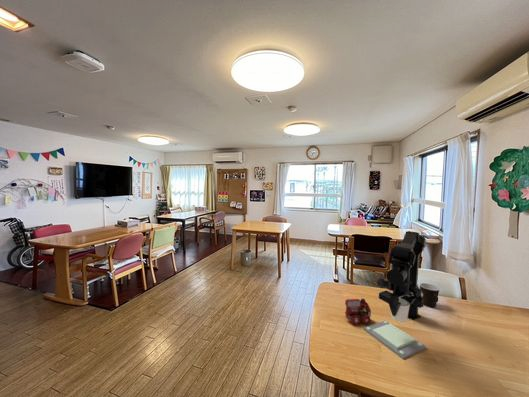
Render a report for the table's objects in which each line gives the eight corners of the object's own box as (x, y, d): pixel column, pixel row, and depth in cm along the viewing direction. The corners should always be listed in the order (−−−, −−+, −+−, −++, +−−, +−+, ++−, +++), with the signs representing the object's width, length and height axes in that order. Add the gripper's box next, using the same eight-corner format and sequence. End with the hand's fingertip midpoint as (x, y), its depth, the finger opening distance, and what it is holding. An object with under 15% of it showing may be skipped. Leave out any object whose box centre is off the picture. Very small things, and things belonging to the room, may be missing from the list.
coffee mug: (418, 298, 125) (419, 281, 125) (437, 303, 120) (438, 286, 120) (418, 307, 116) (419, 289, 115) (439, 313, 111) (440, 294, 110)
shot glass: (385, 313, 93) (386, 297, 93) (400, 312, 94) (401, 296, 94) (397, 323, 86) (398, 306, 86) (413, 322, 87) (414, 305, 87)
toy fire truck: (374, 324, 101) (375, 302, 101) (348, 325, 100) (349, 303, 99) (365, 315, 108) (366, 295, 108) (341, 316, 107) (342, 296, 106)
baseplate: (385, 322, 103) (385, 318, 103) (426, 348, 87) (426, 344, 86) (363, 329, 97) (363, 325, 97) (403, 359, 81) (403, 354, 81)
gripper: (396, 266, 100) (394, 299, 101) (368, 273, 92) (366, 308, 93) (422, 276, 90) (420, 312, 91) (393, 284, 82) (391, 324, 83)
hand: (398, 313), depth 90 cm, fingers closed on shot glass, 6 cm apart
